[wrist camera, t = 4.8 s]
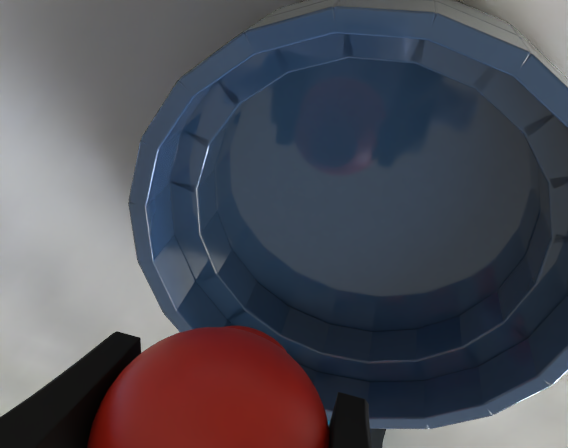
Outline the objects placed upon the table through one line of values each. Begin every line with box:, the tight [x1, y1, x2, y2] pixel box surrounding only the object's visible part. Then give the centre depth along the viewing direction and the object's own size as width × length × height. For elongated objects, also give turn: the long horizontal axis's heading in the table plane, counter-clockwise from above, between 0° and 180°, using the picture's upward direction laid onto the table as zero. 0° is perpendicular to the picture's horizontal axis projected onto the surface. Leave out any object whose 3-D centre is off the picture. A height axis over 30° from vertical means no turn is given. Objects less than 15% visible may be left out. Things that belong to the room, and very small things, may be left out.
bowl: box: [128, 0, 568, 429], centre depth 17 cm, size 14×14×4 cm
